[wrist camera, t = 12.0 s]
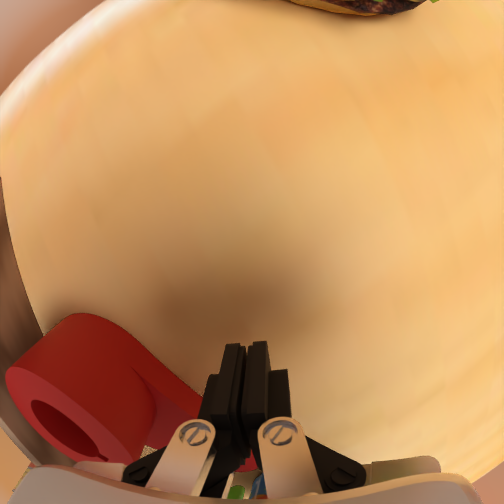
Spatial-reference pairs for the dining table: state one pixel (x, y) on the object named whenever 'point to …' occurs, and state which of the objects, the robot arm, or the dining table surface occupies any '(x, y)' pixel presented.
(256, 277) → the dining table surface
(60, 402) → the lever
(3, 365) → the walnut board
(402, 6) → the food
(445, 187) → the dining table surface
